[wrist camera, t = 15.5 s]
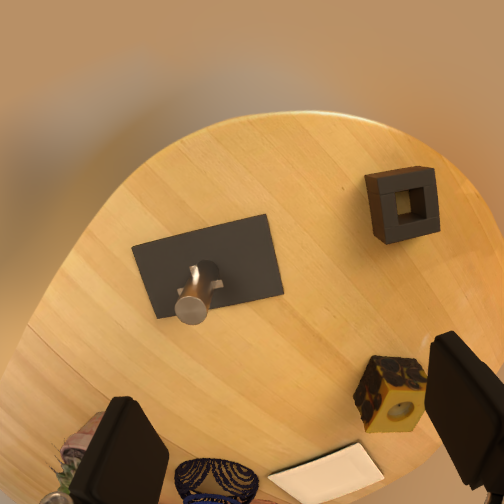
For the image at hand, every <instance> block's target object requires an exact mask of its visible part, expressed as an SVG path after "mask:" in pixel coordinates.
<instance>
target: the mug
mask: <svg viewBox="0 0 504 504" xmlns="http://www.w3.org/2000/svg"><path fill="white" fill-rule="evenodd" d="M238 501H239V502H241V503H242V501H241V500H238ZM245 501H247V500H245ZM243 502H244V501H243ZM229 503H230V502H228V504H229ZM250 504H277V503H274V502H271V501H266V500H259V499H253V500H252V502H251V503H250Z"/></svg>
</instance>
